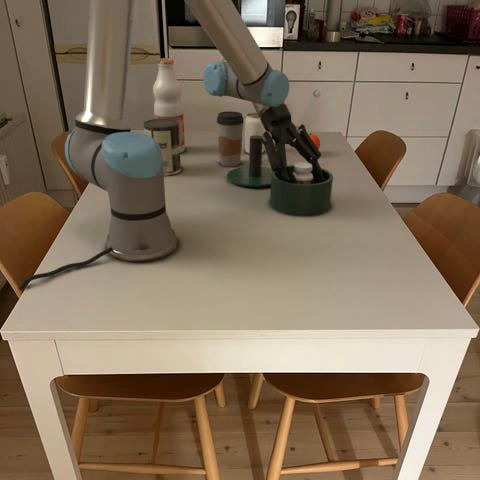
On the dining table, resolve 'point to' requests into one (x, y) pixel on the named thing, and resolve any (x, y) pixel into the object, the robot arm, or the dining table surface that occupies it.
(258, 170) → the pot lid
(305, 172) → the pill bottle
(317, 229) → the dining table surface
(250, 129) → the can
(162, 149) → the coffee can
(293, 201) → the pot
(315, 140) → the clementine
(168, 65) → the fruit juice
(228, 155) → the coffee cup
